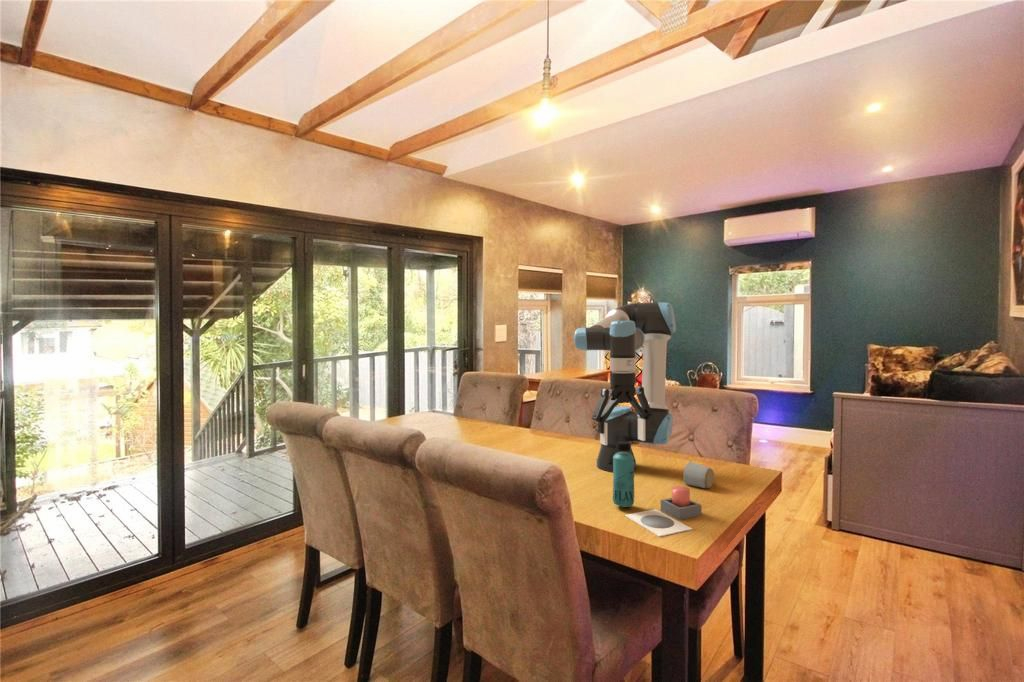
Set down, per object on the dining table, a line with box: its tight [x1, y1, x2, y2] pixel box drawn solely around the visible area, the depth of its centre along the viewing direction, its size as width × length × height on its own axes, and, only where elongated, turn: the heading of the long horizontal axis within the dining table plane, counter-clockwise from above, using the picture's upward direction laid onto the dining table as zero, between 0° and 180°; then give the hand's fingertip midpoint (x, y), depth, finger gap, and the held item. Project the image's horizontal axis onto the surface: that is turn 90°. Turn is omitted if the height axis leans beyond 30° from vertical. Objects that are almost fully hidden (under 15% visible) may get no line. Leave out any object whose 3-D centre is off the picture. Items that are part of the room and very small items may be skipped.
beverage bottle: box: [612, 441, 635, 508], centre depth 144 cm, size 6×7×20 cm
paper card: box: [624, 508, 693, 538], centre depth 133 cm, size 15×11×1 cm
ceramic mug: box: [682, 461, 715, 489], centre depth 163 cm, size 11×8×8 cm
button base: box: [660, 497, 703, 521], centre depth 140 cm, size 8×8×3 cm
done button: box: [671, 485, 691, 507], centre depth 140 cm, size 5×5×5 cm
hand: (623, 442), depth 143 cm, fingers open, 13 cm apart
